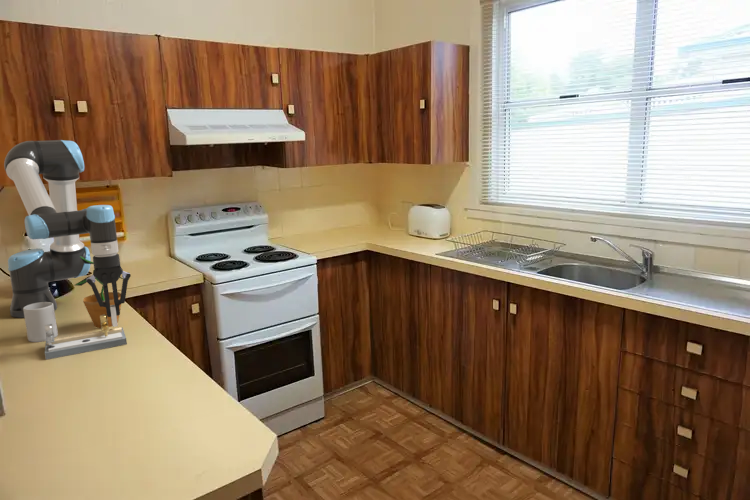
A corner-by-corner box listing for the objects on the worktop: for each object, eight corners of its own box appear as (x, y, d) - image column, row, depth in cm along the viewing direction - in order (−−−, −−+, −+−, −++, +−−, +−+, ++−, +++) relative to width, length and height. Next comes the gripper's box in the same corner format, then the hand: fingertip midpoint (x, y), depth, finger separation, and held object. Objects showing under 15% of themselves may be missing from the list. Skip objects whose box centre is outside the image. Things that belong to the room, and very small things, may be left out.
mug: (56, 339, 175) (51, 307, 173) (25, 344, 172) (20, 311, 170) (61, 328, 186) (56, 297, 184) (32, 332, 183) (27, 301, 180)
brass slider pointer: (101, 329, 174) (99, 314, 173) (108, 328, 175) (106, 313, 174) (102, 336, 168) (100, 320, 167) (110, 335, 169) (107, 319, 168)
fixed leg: (47, 339, 167) (44, 323, 166) (54, 338, 168) (52, 322, 167) (46, 347, 161) (44, 331, 160) (54, 345, 162) (51, 329, 161)
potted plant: (122, 312, 201) (112, 233, 195) (141, 324, 188) (132, 239, 182) (69, 324, 189) (57, 241, 183) (86, 337, 176) (74, 248, 170)
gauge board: (46, 346, 169) (45, 337, 169) (123, 332, 180) (122, 324, 179) (45, 359, 159) (44, 350, 158) (126, 344, 169) (125, 335, 169)
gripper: (83, 259, 163) (93, 332, 168) (129, 253, 170) (138, 324, 174) (82, 254, 170) (91, 325, 174) (126, 249, 176) (135, 318, 181)
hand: (114, 325), depth 174 cm, fingers closed
